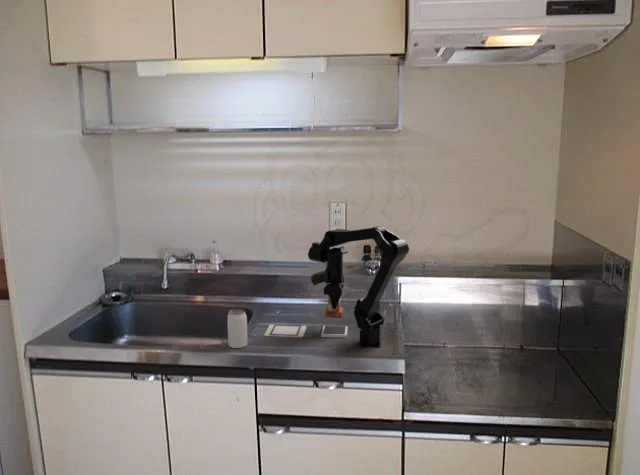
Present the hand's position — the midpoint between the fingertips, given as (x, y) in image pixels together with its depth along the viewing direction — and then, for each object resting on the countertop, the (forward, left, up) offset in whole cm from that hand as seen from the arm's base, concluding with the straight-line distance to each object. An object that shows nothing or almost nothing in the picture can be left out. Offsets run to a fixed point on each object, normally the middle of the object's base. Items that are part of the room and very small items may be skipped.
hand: (334, 306), depth 185 cm
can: (+32, +15, -10) cm, 37 cm away
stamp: (0, 0, -3) cm, 3 cm away
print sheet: (+18, 0, -10) cm, 20 cm away
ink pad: (0, 0, -10) cm, 10 cm away
